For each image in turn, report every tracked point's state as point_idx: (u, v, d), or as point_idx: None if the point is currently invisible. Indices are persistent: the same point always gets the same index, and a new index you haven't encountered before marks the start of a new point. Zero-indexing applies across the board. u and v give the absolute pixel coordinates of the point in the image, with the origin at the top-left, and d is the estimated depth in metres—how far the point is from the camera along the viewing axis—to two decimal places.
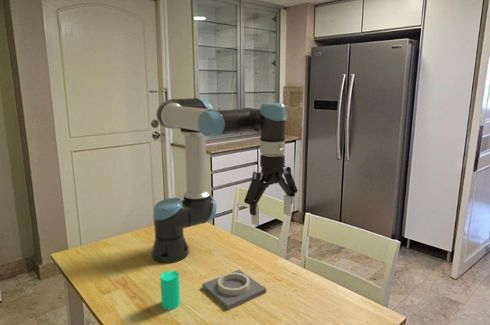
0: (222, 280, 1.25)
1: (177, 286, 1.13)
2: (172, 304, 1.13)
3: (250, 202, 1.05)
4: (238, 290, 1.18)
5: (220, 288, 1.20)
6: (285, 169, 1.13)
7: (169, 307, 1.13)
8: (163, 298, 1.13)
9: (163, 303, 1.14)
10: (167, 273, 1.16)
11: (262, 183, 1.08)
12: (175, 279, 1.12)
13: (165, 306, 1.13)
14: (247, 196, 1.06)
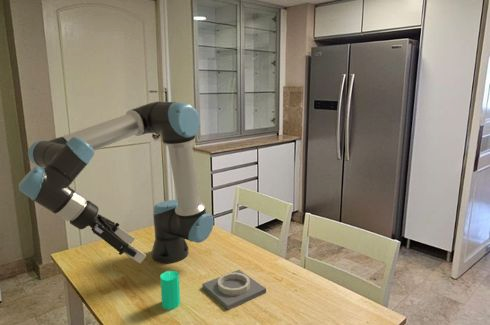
0: (222, 280, 1.25)
1: (177, 286, 1.13)
2: (172, 304, 1.13)
3: None
4: (238, 290, 1.18)
5: (220, 288, 1.20)
6: None
7: (169, 307, 1.13)
8: (163, 298, 1.13)
9: (163, 303, 1.14)
10: (167, 273, 1.16)
11: None
12: (175, 279, 1.12)
13: (165, 306, 1.13)
14: None
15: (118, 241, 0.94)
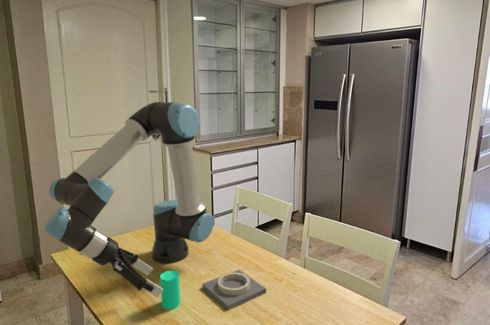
0: (222, 280, 1.25)
1: (177, 286, 1.13)
2: (172, 304, 1.13)
3: None
4: (238, 290, 1.18)
5: (220, 288, 1.20)
6: None
7: (169, 307, 1.13)
8: (163, 298, 1.13)
9: (163, 303, 1.14)
10: (167, 273, 1.16)
11: None
12: (175, 279, 1.12)
13: (165, 306, 1.13)
14: None
15: (136, 278, 0.99)
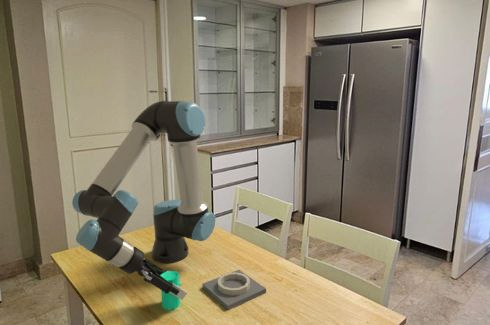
0: (222, 280, 1.25)
1: None
2: (172, 304, 1.13)
3: None
4: (238, 290, 1.18)
5: (220, 288, 1.20)
6: None
7: (169, 307, 1.13)
8: (163, 298, 1.13)
9: (163, 303, 1.14)
10: (167, 273, 1.15)
11: None
12: (175, 279, 1.12)
13: (165, 306, 1.13)
14: None
15: (165, 284, 1.07)
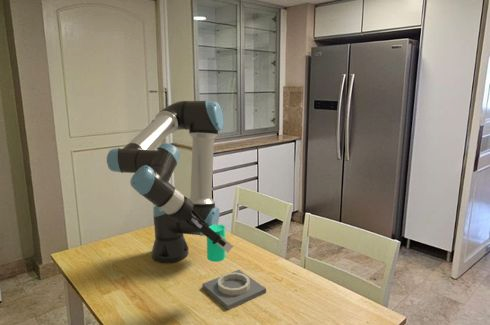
0: (222, 280, 1.25)
1: None
2: (218, 256, 1.14)
3: None
4: (238, 290, 1.18)
5: (220, 288, 1.20)
6: (195, 224, 1.06)
7: (215, 259, 1.14)
8: (209, 250, 1.14)
9: (209, 255, 1.14)
10: (213, 226, 1.16)
11: None
12: (222, 231, 1.13)
13: (211, 258, 1.14)
14: None
15: (214, 234, 1.08)
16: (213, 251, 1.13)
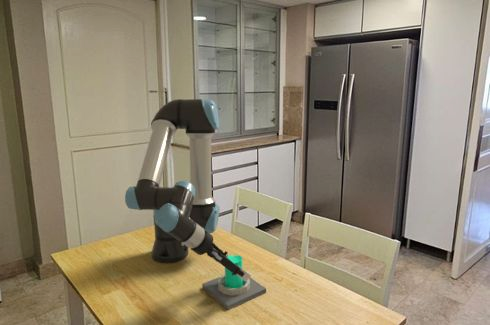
0: (222, 280, 1.25)
1: None
2: (236, 286, 1.20)
3: None
4: (238, 290, 1.18)
5: (220, 288, 1.20)
6: None
7: None
8: (227, 280, 1.21)
9: (227, 285, 1.21)
10: (230, 257, 1.23)
11: None
12: (240, 262, 1.19)
13: None
14: None
15: (233, 265, 1.13)
16: (231, 281, 1.20)
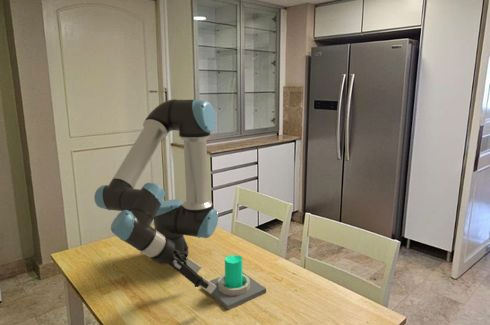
0: (222, 280, 1.25)
1: (241, 269, 1.21)
2: (236, 286, 1.20)
3: None
4: (238, 290, 1.18)
5: (220, 288, 1.20)
6: None
7: None
8: (227, 280, 1.21)
9: (227, 285, 1.21)
10: (230, 257, 1.23)
11: None
12: (239, 262, 1.19)
13: None
14: None
15: (194, 275, 1.05)
16: (231, 281, 1.20)
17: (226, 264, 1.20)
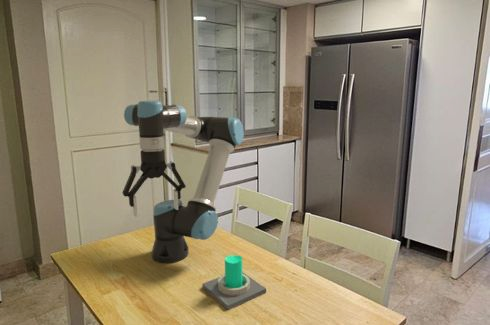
0: (222, 280, 1.25)
1: (241, 269, 1.21)
2: (236, 286, 1.20)
3: (125, 194, 1.11)
4: (238, 290, 1.18)
5: (220, 288, 1.20)
6: (169, 164, 1.17)
7: None
8: (227, 280, 1.21)
9: (227, 285, 1.21)
10: (230, 257, 1.23)
11: (141, 177, 1.14)
12: (239, 262, 1.19)
13: None
14: (124, 188, 1.12)
15: None
16: (231, 281, 1.20)
17: (226, 264, 1.20)
